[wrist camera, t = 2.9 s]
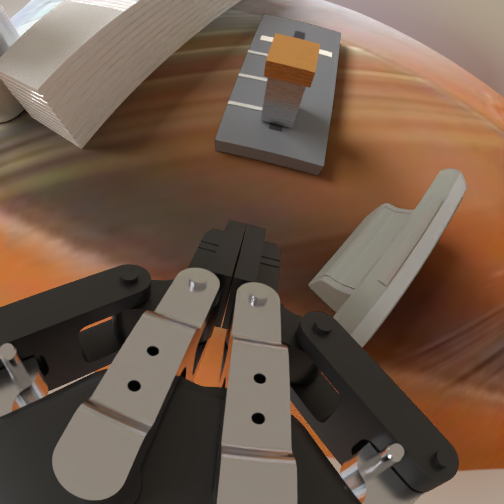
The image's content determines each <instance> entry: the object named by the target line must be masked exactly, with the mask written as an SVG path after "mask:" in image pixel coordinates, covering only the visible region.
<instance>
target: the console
mask: <svg viewBox="0 0 504 504" xmlns="http://www.w3.org/2000/svg"><path fill="white" fill-rule="evenodd" d="M275 33H277V34H282V35H286V36H290V37H295V38H299V39H303V40H306V41H310V42H314V43H318V44H320V50H319V55H318V61H317V66H316V72H315V75H314V78H313V81H312V84H311V87H310V88H309V87H306V88H305V91H304V94H303V97H302V100H301V103H300V106H299V109H298V112H297V115H296V118H295V122H294V125H293V128H290V127H286V126H282V125H278V124H274V123H270V122H266V121H262V120H261V115H262V109H263V103H264V97H265V91H266V85H267V79H268V77H264V70H265V63H266V59H267V56H268V53H269V50H270V47H271V44H272V41H273V38H274V36H275ZM340 38H341V33H340V32H336V31H333V30H330V29H326V28H323V27H319V26H316V25H312V24H308V23H304V22H300V21H296V20H291V19H287V18H282V17H278V16H273V15H268V14H264V15H263V17H262V19H261V22H260V24H259V26H258V29H257V31H256V33H255V36H254V38H253V41H252V43H251V45H250V48H249V50H248V52H247V55H246V58H245V60H244V63H243V65H242V68H241V70H240V73H239V75H238V78H237V80H236V83H235V86H234V88H233V91H232V94H231V96H230V99H229V101H228V104H227V107H226V110H225V113H224V115H223V118H222V121H221V124H220V126H219V129H218V132H217V135H216V138H215V150H216V151H220V152H225V153H229V154H234V155H238V156H243V157H247V158H251V159H255V160H260V161H264V162H268V163H272V164H276V165H280V166H284V167H288V168H291V169H295V170H299V171H303V172H306V173H310V174H314V175H317V176H318V175H319V173H320V172H321V170H322V168H323V167H324V161H325V155H326V148H327V142H328V135H329V128H330V121H331V114H332V107H333V99H334V91H335V83H336V75H337V66H338V57H339V48H340Z"/></svg>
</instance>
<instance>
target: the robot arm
mask: <svg viewBox="0 0 504 504" xmlns="http://www.w3.org/2000/svg"><path fill="white" fill-rule="evenodd" d="M19 38H20V36H19V34H18V33H17V31H16V29H15V28H14V26H13V24H12V22H11V21H10V19H9V17H8V16H7V14H6V12H5V10H4V8H3V7H2V5H1V3H0V57H1V56H2V55H3V54H4V53H5V52H6V51H7V50H8V49H9V48H10V47H11V46H12V45H13V44H14V43H15V42H16V41H17V40H18V39H19ZM24 110H25V109H24V108H23V106H22V105H21V104H20V103H19V101H18V100H17V99H16V98H15V96H14V95H13V94H12V92H10V90H9V89H8V87H6V85H5V84H4V82H2V80H1V79H0V123H2V122H6V121H9V120H11V119H13V118H14V117H16V116H18V115H19V114H20V113H21V112H23V111H24ZM246 226H247V224H245V223H241V222H237V221H233V220H229V221H228V224H227V226H226V229H225V231H222V230H218V229H214V228H213V229H212V230H210V231H208V232H207V233H205V235H204V237H203V239H202V241H201V243H200V245H199V247H198V249H197V251H196V253H195V255H194V257H193V259H192V261H191V263H190V265H189V267H188V269H185V270H183V271H181V272H180V273H179V274H178V275H177V276H176V278H175V279H173V280H167V281H161V280H151V276H150V274H149V272H148V271H147V270H146V269H144V268H142V267H140V266H137V265H121V266H118V267H115V268H112V269H109V270H106V271H103V272H100V273H97V274H94V275H91V276H88V277H85V278H82V279H79V280H76V281H73V282H71V283H68V284H65V285H62V286H59V287H56V288H53V289H50V290H48V291H45V292H42V293H39V294H36V295H33V296H31V297H28V298H25V299H22V300H19V301H17V302H14V303H11V304H8V305H6V306H3V307H0V504H413V503H414V502H415V501H416V500H417V499H418V498H419V497H420V496H421V495H422V494H424V493H426V492H428V491H430V490H432V489H434V488H436V487H437V486H439V485H441V484H443V483H445V482H447V481H448V480H450V479H451V478H453V477H454V475H455V474H456V472H457V470H458V465H459V460H458V455H457V452H456V450H455V449H454V447H453V446H452V445H451V444H450V443H449V442H448V440H447V439H446V438H445V437H444V436H443V435H442V434H441V433H440V432H439V430H438V429H437V428H436V427H435V426H434V425H433V424H432V423H431V422H430V421H429V419H428V418H427V417H426V416H425V415H424V414H423V413H422V412H421V411H420V410H419V409H418V407H417V406H416V405H415V404H414V403H413V402H412V401H411V400H410V399H409V398H408V397H407V395H406V394H405V393H404V392H403V391H402V390H401V389H400V388H399V387H398V386H397V385H396V384H395V382H394V381H393V380H392V379H391V378H390V377H389V376H388V375H387V374H386V373H385V372H384V371H383V369H382V368H381V367H380V366H379V365H378V364H377V363H376V362H375V361H374V360H373V359H372V358H371V357H370V356H369V354H368V353H367V352H366V351H365V350H364V349H363V348H362V347H361V346H360V345H359V344H358V343H357V342H356V341H355V339H354V338H353V337H352V336H351V335H350V334H349V333H348V332H347V331H346V330H345V329H344V328H343V327H342V326H341V325H340V324H339V322H338V321H337V320H335V319H334V318H333V317H331V316H330V315H327V314H325V313H321V312H310V313H307V314H305V315H304V316H303V317H300V316H298V315H296V314H294V313H292V312H290V311H289V310H287V309H286V308H285V307H284V306H283V305H282V304H281V303H280V298H279V295H278V294H277V289H278V278H279V266H280V253H281V252H280V250H279V248H278V247H277V245H276V244H274V243H270V242H266V241H264V238H265V232H266V229H265V228H261V227H257V226H253V225H249V224H248V228H247V231H246V235H245V239H244V234H245V230H246ZM243 239H244V242H243ZM242 243H243V246H242ZM241 247H242V249H241ZM240 251H241V253H240ZM239 255H240V257H239ZM232 282H233V283H232ZM231 286H232V287H231ZM230 290H231V292H230ZM229 293H230V296H229ZM228 297H229V300H228ZM227 301H228V305H227V309H226V313H225V318H224V322H223V326H222V328H224V329H227V333H226V337H225V341H224V345H223V351H222V358H221V365H220V373H219V380H218V387H203V386H200V385H197V384H195V383H193V380H194V378H195V375H196V373H197V370H198V368H199V365H200V363H201V360H202V358H203V355H204V353H205V350H206V348H207V345H208V342H209V338H210V337H211V335H212V332H213V329H214V326H216V327H221V323H222V319H223V316H224V312H225V308H226V304H227ZM110 316H112V319H111V320H108V321H106V322H103V323H101V324H98V325H96V326H93V327H91V328H88V329H86V330H83V331H81V332H80V330H81V329H82V328H84V327H85V326H88V325H90V324H93V323H95V322H98V321H100V320H103V319H105V318H108V317H110ZM109 364H111V365H110V367H109V368H108V369H105V370H101V371H98V372H95V373H93V374H91V375H89V376H87V377H84V378H82V379H80V380H78V381H76V382H74V383H72V384H70V385H68V386H66V387H64V388H62V389H59V390H58V391H55V392H53V393H51V394H49V395H47V394H48V391H50V390H53V389H55V388H57V387H60V386H62V385H64V384H66V383H69V382H71V381H73V380H76V379H78V378H80V377H83V376H85V375H87V374H89V373H92V372H94V371H96V370H98V369H100V368H103V367H105V366H107V365H109ZM321 372H322V373H323V374H324V375H325V377H326V378H327V379H328V380H329V381H330V383H331V384H332V385H333V386H334V387H335V389H336V390H337V391H338V392H337V391H336V390H335V389H334V388H333V386H332V385H331V384H330V383H329V382H328V380H327V379H326V378H325V377H324V376H323V374H322V373H321ZM338 393H339V394H340V395H339V394H338ZM290 400H291V401H292V403H293V404H294V405H295V407H296V408H297V409H298V411H299V412H300V413H301V415H302V416H303V417H304V419H305V420H306V421H307V423H308V424H309V425H310V426H311V428H312V429H313V430H314V432H315V433H316V434H317V435H318V437H319V438H320V439H321V441H322V442H323V443H324V444H325V446H326V447H327V448H328V449H329V451H330V452H331V453H332V454H333V456H334V457H335V458H336V459H337V461H338V462H339V463H340V464H341V466H342V467H341V470H340V475H339V473H338V472H337V471H336V470H335V468H334V467H333V465H332V464H331V463H330V461H329V460H328V459H327V457H326V456H325V455H324V453H323V452H322V450H321V449H320V448H319V446H318V445H317V444H316V442H315V441H314V439H313V438H312V437H311V435H310V434H309V432H308V431H307V430H306V428H305V427H304V426H303V425H302V424H301V423H300V422H299V421H298V420H297V419H296V418H295V417H294V416H293V415H291V408H290Z"/></svg>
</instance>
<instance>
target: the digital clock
mask: <svg viewBox="0 0 504 504" xmlns="http://www.w3.org/2000/svg"><path fill="white" fill-rule="evenodd" d="M466 189H467V185H466V182H465V180H464V177H463V174H462V172H460V171H458V170H456V169H443V170H441V171H440V172H439V173H438V175H437V177H436V178H435V180H434V181H433V183H432V184H431V186H430V187H429V189H428V190H427V192H426V193H425V195H424V196H423V198H422V199H421V201H420V202H419V204H418V205H417V207H416V208H415V210H410V209H401V208H397V207H395V206H393V205H391V204H389V203H384V204H382V205H380V206H379V207H378V208H376V209H375V210H374V211H372V212H371V213H370V214H369V215H367V216H366V217H365V218H364V219H363V221H362V222H361V223H360V224H359V225H358V227H357V228H356V229H355V230H354V231H353V233H352V234H351V235H350V236H349V237H348V239H347V240H346V241H345V242H344V243H343V245H342V246H341V247H340V248H339V249H338V251H337V252H336V253H335V254H334V255H333V256H332V258H331V259H330V260H329V261H328V262H327V263H326V265H325V266H324V267H323V268H322V269H321V270H320V271H319V273H318V274H317V275H316V276H315V277H314V278H313V279H312V281H311V282H310V283H309V284H308V286H309V287H310V288H311V289H312V290H313V291H314V292H315V293H316V294H317V295H318V296H319V297H320V298H321V299H322V300H323V301H324V302H325V303H326V304H327V305H328V306H330V307H331V308H332V309H333V310H334V311H335V312H336V314H335V315H334V317H333V318H334V319H335V320H337V321H338V322H339V324H340V325H341V326H342V327H343V328H344V329H345V330H346V331H347V332H348V333H349V334H350V335H351V336H352V337H353V338H354V339H355V341H356V342H357V343H358V344H359V345H360V346H361V347H363V346H364V345H365V344H366V343H367V342H368V341H369V340H370V339H371V338H372V336H373V335H374V334H375V333H376V331H377V330H378V329H379V327H380V326H381V325H382V323H383V322H384V321H385V319H386V318H387V317H388V315H389V314H390V313H391V311H392V310H393V309H394V307H395V306H396V304H397V303H398V302H399V300H400V299H401V297H402V296H403V294H404V293H405V292H406V290H407V289H408V287H409V286H410V284H411V283H412V281H413V280H414V278H415V277H416V275H417V274H418V272H419V271H420V269H421V268H422V266H423V265H424V263H425V262H426V260H427V258H428V257H429V255H430V254H431V252H432V250H433V249H434V247H435V246H436V244H437V242H438V241H439V239H440V237H441V236H442V234H443V232H444V230H445V229H446V227H447V225H448V224H449V222H450V220H451V218H452V216H453V215H454V213H455V211H456V209H457V207H458V206H459V204H460V202H461V200H462V198H463V197H462V196H463V194H464V192H465V191H466ZM377 280H378V281H377Z"/></svg>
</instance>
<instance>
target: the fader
mask: <svg viewBox="0 0 504 504" xmlns="http://www.w3.org/2000/svg"><path fill="white" fill-rule="evenodd" d="M319 50H320V44H318V43H314V42H310V41H306V40H303V39H299V38H295V37H290V36H286V35H282V34H277V33H275V36H274V38H273V41H272V44H271V47H270V50H269V53H268V56H267V59H266V63H265V70H264V77H268V79H267V85H266V91H265V97H264V103H263V109H262V115H261V120H262V121H266V122H270V123H274V124H278V125H282V126H286V127H290V128H293V125H294V122H295V118H296V115H297V112H298V109H299V106H300V103H301V100H302V97H303V94H304V91H305V88H306V87H309V88H310V87H311V84H312V81H313V78H314V75H315V72H316V66H317V61H318V55H319Z"/></svg>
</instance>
